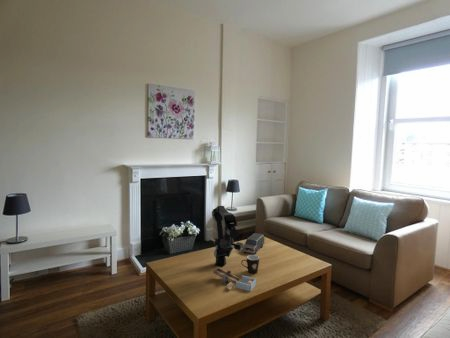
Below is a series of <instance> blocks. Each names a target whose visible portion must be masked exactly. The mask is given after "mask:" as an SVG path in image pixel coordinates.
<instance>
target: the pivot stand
mask: <svg viewBox="0 0 450 338" xmlns="http://www.w3.org/2000/svg"><path fill="white" fill-rule="evenodd" d="M227 272H228V273H231V274H232V270H229V269H228V270H227ZM229 283H230V281H228V280H226V275H224V274H223V278H222V281H221V284H223V285H228V284H229Z"/></svg>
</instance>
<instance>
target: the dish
mask: <svg viewBox="0 0 450 338" xmlns="http://www.w3.org/2000/svg"><path fill="white" fill-rule="evenodd" d="M248 281H251V282H252V284H251V285H249V284H247V282H248ZM256 285H257V278H255V277H251V276H246V275H243V274H242V275H241V280H239V281H238V282H237V281H236V284H235V288H237V289H241V290H244V291H248V292H252V291H253V289H254V287H256Z"/></svg>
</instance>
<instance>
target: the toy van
mask: <svg viewBox="0 0 450 338" xmlns="http://www.w3.org/2000/svg"><path fill="white" fill-rule="evenodd" d="M265 241H266V239H265V236H264V234H262V233H261V234H260V233H253V234H252V235H250V236H249V237H247V238H246V240H245V243H243V248H242V252H243V253H249V254H253V255H256V254H257V252H258V251H259V250H260V249H262V248H263V247H264V244H265Z"/></svg>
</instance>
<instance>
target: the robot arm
mask: <svg viewBox="0 0 450 338" xmlns="http://www.w3.org/2000/svg"><path fill="white" fill-rule="evenodd" d="M211 217H212V220H213V221H214V222H215V229H216V230H215V231H216V240H214V241H213V245H214V246H215V249H214V252H213V256H214V258H215V263H214V266H217V267H221V268H222V267H224V266H225V265H226V264H227V258H230V256H231V254H232V251H233V249H235V250H237V251H240V250H243V245H244V243H242V242H239V241H237V242H236V243H234V242H235V240H234V239H237V238H238V237H239V235H240V234H239V231H238V230H237V228H236V227H237V226H238V225H237V224H238V221H237V218H236V216H235V214H234V213H232V212H229V211H228V210H227V209H226V208H225V206H224V205H218V206H216V207H215V208H214V209H212V211H211ZM223 227H224V228H223ZM223 229H224V230H223ZM226 257H227V258H226Z"/></svg>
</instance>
